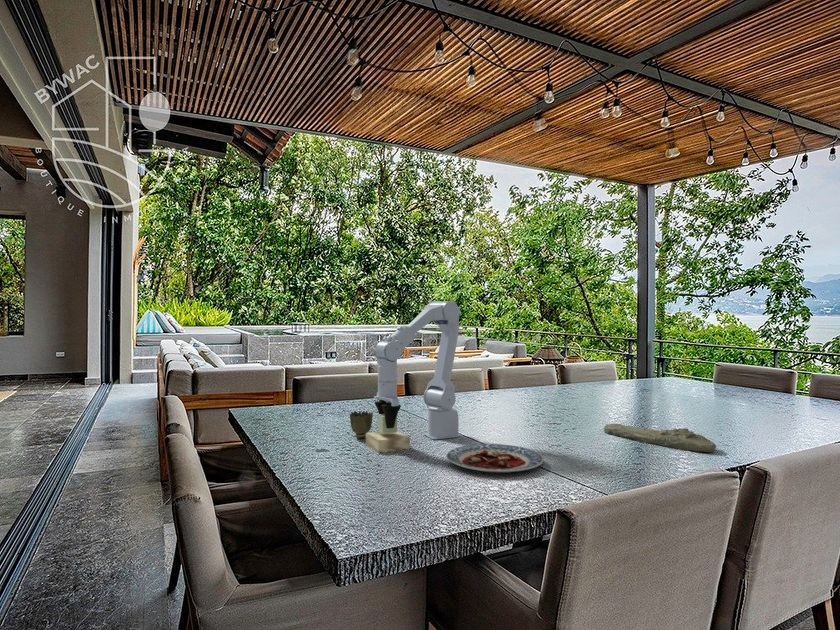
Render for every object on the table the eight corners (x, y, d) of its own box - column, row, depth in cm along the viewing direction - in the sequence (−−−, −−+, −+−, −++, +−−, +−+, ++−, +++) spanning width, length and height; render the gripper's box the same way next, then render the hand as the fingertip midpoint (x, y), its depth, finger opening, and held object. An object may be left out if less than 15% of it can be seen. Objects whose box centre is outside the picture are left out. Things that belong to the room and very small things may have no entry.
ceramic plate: (522, 486, 124) (522, 473, 124) (428, 468, 138) (428, 457, 138) (556, 459, 146) (556, 449, 146) (472, 447, 160) (472, 437, 160)
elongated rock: (614, 434, 182) (597, 439, 176) (613, 418, 182) (596, 424, 176) (722, 449, 155) (707, 456, 149) (721, 431, 155) (706, 438, 149)
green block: (392, 429, 161) (392, 413, 161) (397, 432, 157) (397, 415, 157) (377, 430, 160) (377, 414, 160) (382, 433, 156) (382, 416, 156)
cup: (368, 441, 166) (368, 415, 165) (346, 440, 167) (346, 414, 167) (375, 435, 173) (375, 411, 173) (354, 434, 174) (354, 410, 174)
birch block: (395, 442, 165) (395, 429, 165) (409, 450, 156) (409, 436, 156) (365, 446, 161) (365, 433, 161) (378, 454, 152) (378, 440, 152)
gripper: (367, 378, 164) (367, 422, 164) (382, 385, 150) (382, 432, 150) (388, 377, 166) (388, 420, 166) (405, 383, 153) (405, 430, 153)
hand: (387, 426), depth 159 cm, fingers closed on green block, 4 cm apart
